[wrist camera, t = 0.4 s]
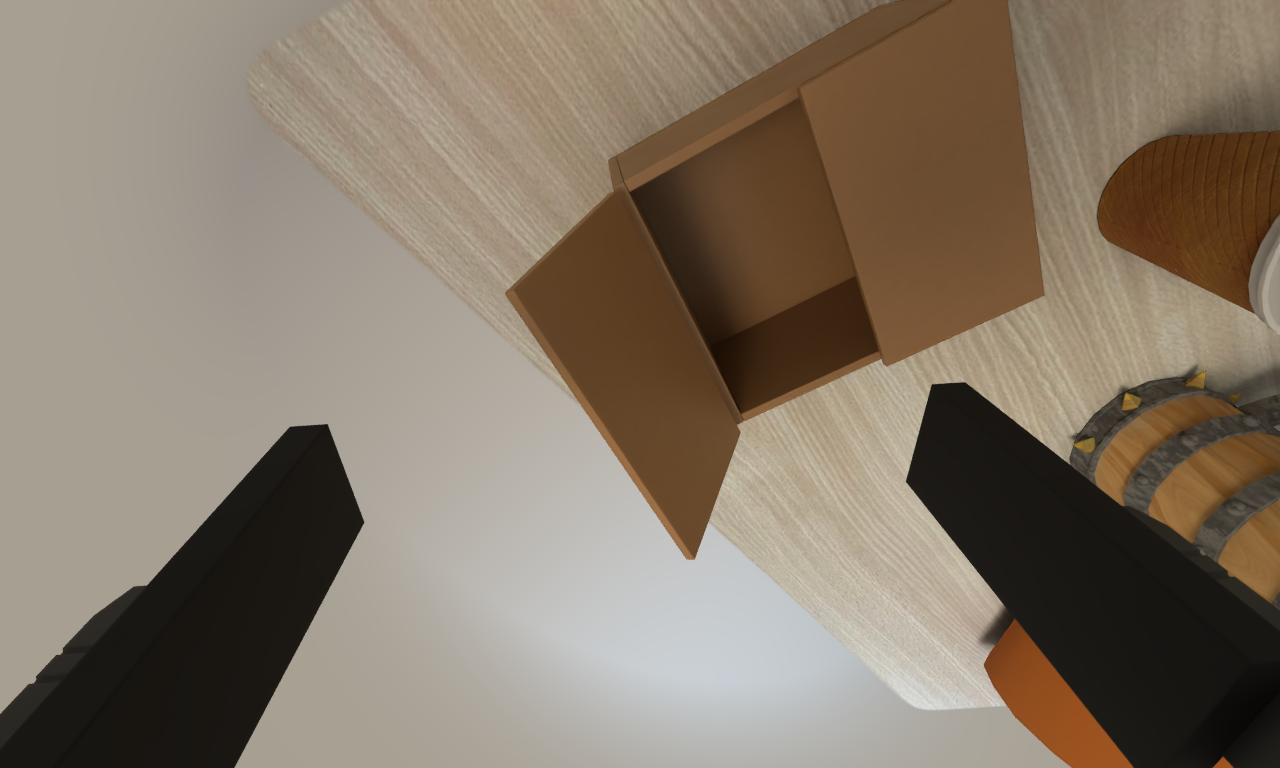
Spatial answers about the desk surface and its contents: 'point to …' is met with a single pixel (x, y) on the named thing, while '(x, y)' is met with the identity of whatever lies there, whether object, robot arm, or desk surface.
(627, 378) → the flap
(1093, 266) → the desk surface
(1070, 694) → the alarm clock
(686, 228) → the carton
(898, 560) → the desk surface
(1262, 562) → the mug
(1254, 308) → the disposable coffee cup
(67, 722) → the robot arm
